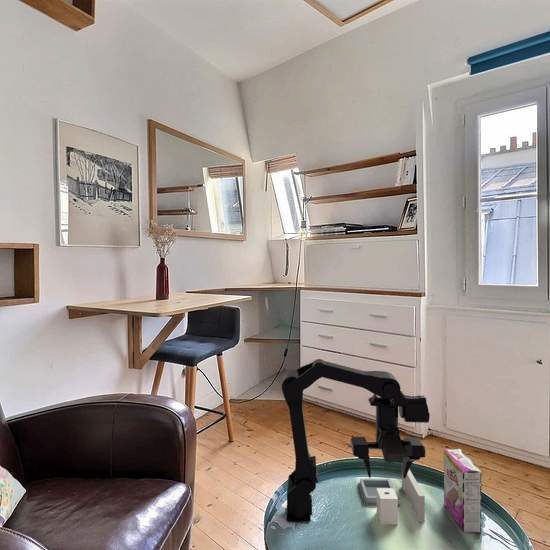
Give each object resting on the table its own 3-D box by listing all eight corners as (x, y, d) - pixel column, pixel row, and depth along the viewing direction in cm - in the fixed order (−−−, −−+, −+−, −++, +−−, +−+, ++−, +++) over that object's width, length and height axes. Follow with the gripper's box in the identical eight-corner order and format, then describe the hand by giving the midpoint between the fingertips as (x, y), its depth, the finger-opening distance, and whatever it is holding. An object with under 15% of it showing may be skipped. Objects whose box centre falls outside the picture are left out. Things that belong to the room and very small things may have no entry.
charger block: (380, 524, 97) (380, 497, 97) (376, 512, 101) (376, 487, 101) (397, 524, 97) (397, 498, 96) (393, 512, 101) (393, 487, 101)
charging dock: (364, 505, 104) (364, 498, 104) (358, 483, 114) (358, 477, 114) (400, 505, 104) (400, 499, 104) (390, 484, 114) (390, 478, 114)
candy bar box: (442, 504, 104) (442, 448, 104) (460, 504, 104) (460, 448, 104) (462, 533, 93) (463, 471, 92) (482, 533, 93) (482, 471, 92)
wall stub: (418, 521, 98) (418, 495, 97) (401, 486, 113) (401, 464, 112) (424, 521, 98) (424, 495, 97) (406, 486, 113) (406, 464, 112)
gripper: (357, 434, 90) (357, 496, 91) (434, 435, 90) (433, 497, 90) (350, 415, 101) (350, 470, 102) (418, 416, 101) (417, 471, 101)
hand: (386, 477), depth 99 cm, fingers open, 9 cm apart
